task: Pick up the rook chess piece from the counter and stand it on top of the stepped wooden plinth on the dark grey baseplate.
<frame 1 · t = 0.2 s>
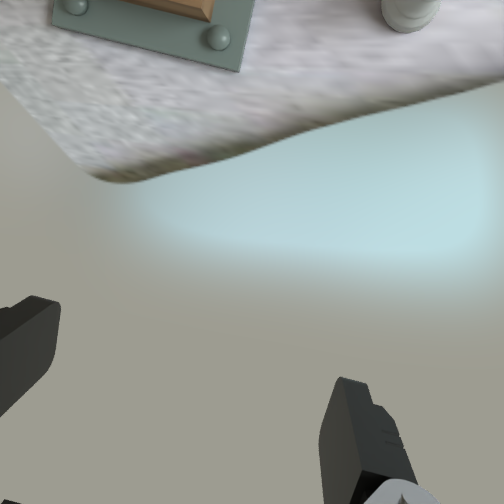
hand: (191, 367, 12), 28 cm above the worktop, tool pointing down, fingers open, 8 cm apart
rook chess piece: (407, 4, 35), on the worktop
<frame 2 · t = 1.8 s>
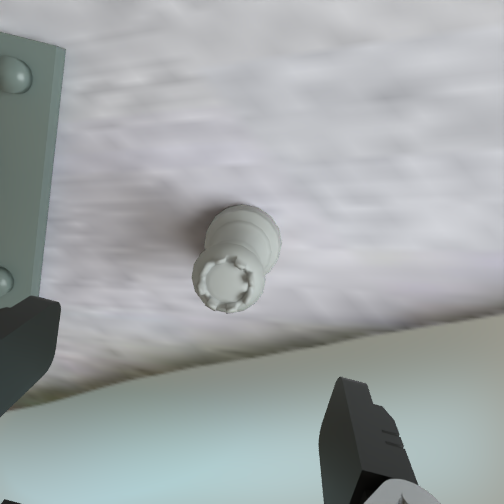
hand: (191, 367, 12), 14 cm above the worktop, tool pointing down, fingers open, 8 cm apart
rook chess piece: (244, 239, 26), on the worktop
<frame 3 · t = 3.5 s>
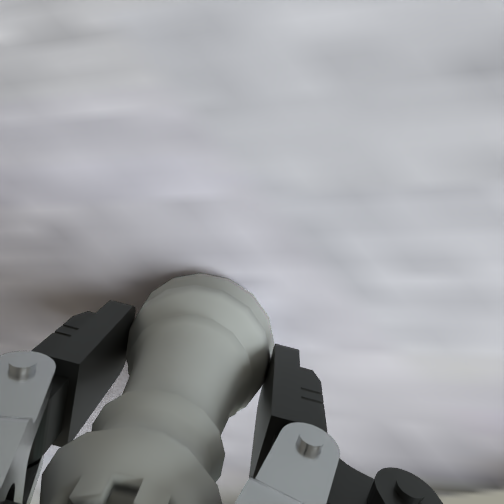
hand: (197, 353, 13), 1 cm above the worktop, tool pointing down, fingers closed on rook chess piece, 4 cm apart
rook chess piece: (207, 331, 14), on the worktop, touching gripper
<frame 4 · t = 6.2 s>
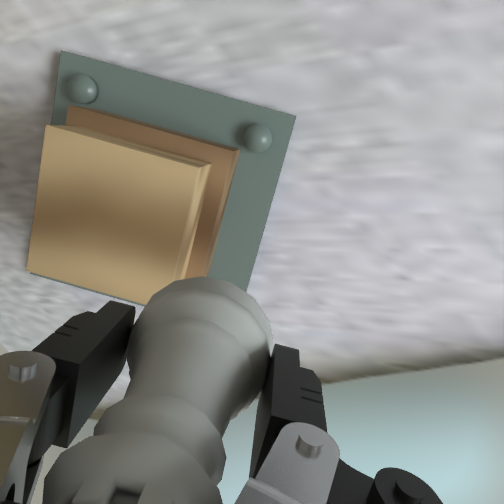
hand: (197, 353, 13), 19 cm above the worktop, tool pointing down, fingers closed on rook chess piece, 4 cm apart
rook chess piece: (208, 333, 15), point 18 cm above the worktop, touching gripper
stepped wooden plinth: (157, 198, 32), resting on baseplate
baseplate: (157, 198, 32), on the worktop
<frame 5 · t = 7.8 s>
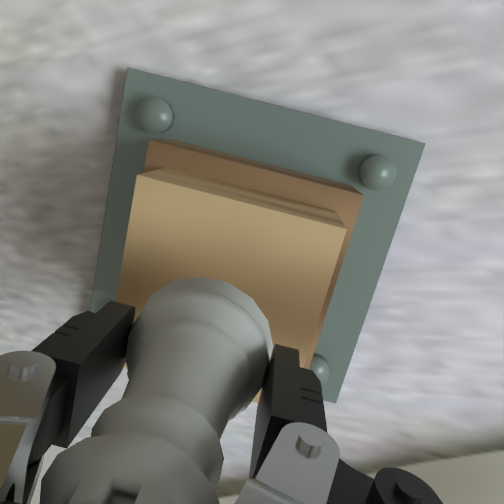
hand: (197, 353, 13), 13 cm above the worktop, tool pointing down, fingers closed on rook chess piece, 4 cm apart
rook chess piece: (206, 334, 15), point 12 cm above the worktop, touching gripper
stepped wooden plinth: (241, 244, 26), resting on baseplate
baseplate: (241, 244, 26), on the worktop
when the fingers open (12 cm above the worktop, at t = 9.2 s): rook chess piece drops 1 cm, resting on stepped wooden plinth.
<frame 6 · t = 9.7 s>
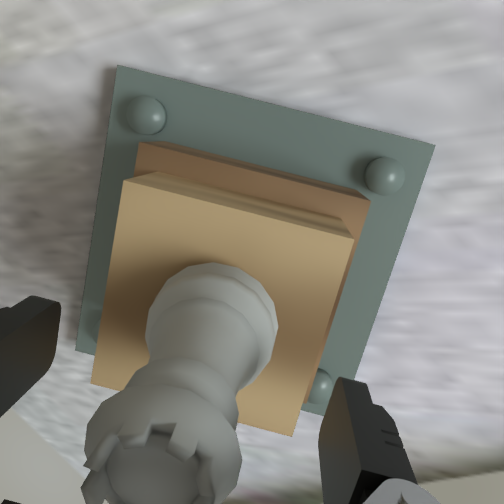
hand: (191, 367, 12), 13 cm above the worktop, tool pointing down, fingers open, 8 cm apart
rook chess piece: (217, 316, 16), point 9 cm above the worktop, touching stepped wooden plinth
stepped wooden plinth: (240, 252, 24), resting on baseplate
baseplate: (240, 252, 24), on the worktop
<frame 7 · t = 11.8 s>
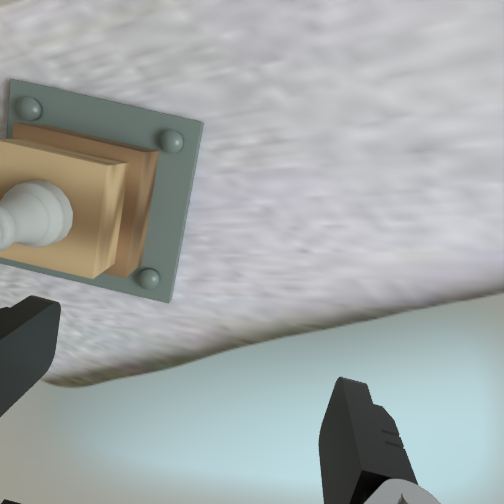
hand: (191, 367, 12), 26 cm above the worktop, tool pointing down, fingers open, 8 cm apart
rook chess piece: (46, 211, 30), point 9 cm above the worktop, touching stepped wooden plinth
stepped wooden plinth: (98, 195, 38), resting on baseplate
baseplate: (98, 195, 38), on the worktop
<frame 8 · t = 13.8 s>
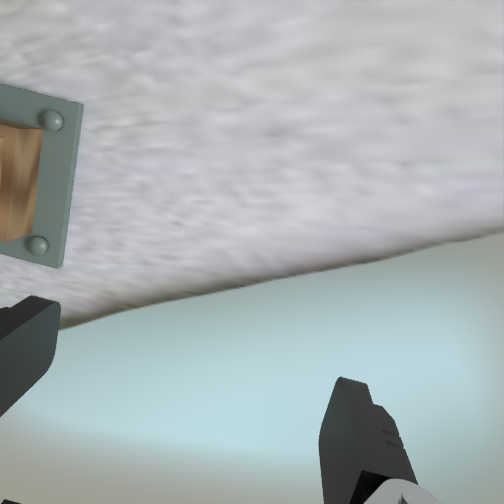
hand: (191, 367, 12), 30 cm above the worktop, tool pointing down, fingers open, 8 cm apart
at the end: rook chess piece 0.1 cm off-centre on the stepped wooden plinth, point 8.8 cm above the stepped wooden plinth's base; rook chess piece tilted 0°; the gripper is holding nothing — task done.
